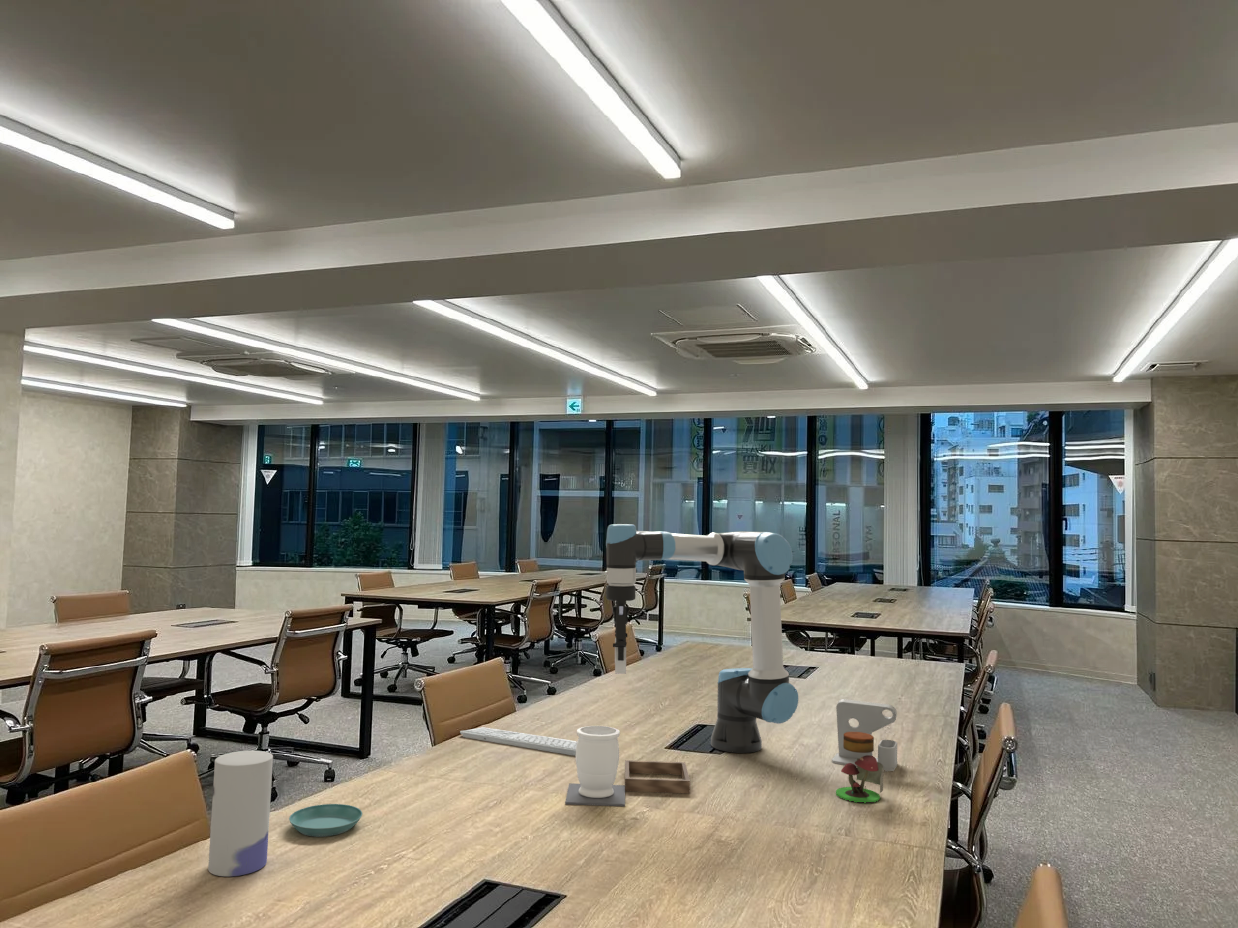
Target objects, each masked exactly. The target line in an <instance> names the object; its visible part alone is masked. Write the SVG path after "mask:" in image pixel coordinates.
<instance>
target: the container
mask: <svg viewBox="0 0 1238 928" xmlns="http://www.w3.org/2000/svg"><path fill="white" fill-rule="evenodd" d="M273 760H274V755H273V754H272V753H271V752H267V751H262V750H241V751H240V750H239V751H234V752H230V753H225V754H222V755H219V756H218V757H216V758H215V760H214V769H213V771H214V773H213V785H212V791H213V792H212V804H211V820H210V835H209V849H208V851H209V852H208V866H207V869H208V872H209V873H211V874H212V875H214V876H219V877H239V876H245V875H249V874H251V873H254V872H257V871H259V870H261V869H262V868H264V867H265V866H266V865H267V863H268V862H267V861H268V850H269V849H268V847H269V845H268V843H269V830H270V829H269V827H270V814H271V813H270V810H271V799H272V798H271V796H272V795H271V794H272V778H273V762H274V761H273Z"/></svg>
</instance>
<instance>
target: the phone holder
mask: <svg viewBox="0 0 1238 928" xmlns="http://www.w3.org/2000/svg"><path fill="white" fill-rule="evenodd" d="M835 708H836V709H835V710H836V726H837V745H838V746H837V747H838V752H837V753H835V754H834V756H833V757H832V759H831V763H833V764H835V765H844V766H845V765H846V764H848V763H853V764H854V765H855V766H856V767H857V765H856V764H855V761H857V758H861V757H863V756H866V755H871V756H873V754H874V753H873V752H870V753H857V752H851V751H848V750H846V749H844V748H843V739H844V733H846V732H862V733H867V734H870V735H872V736H873V734H872V733H874V732H876V731H878V730H881V729H884V728H885V727H887V726H889V725H891V724H893V723H895V722H896V720H897V717H898V716H897V715H898V714H897V708H895V706H894V705H891V704H887V703H881V702H880V703H879V702H872V701H871V702H870V701H863V700H862V701H861V700H855V699H848V698H847V699H846V698H842V699H839V700H838V701H837V703H836V707H835ZM886 710H887V711H890V712H891V714H892V715H891V716H886V715H884V714H883V712H884V711H886ZM851 719H852V720H853V719H854V720H856V721H857V722H858V725H857V726H852V725H851V724H850V722H849V721H850V720H851ZM873 757H874V756H873ZM875 758H876V760H877V762H879V763H881V764H882V765H883V770H885V771H884V772H888V771H894V770H896V769H895V768H897V766H898V742H897V741H895V740H892V739H881V740H880V741H879V743H878V745H877V757H875ZM894 772H895V771H894Z"/></svg>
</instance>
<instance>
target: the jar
mask: <svg viewBox="0 0 1238 928" xmlns="http://www.w3.org/2000/svg"><path fill="white" fill-rule="evenodd" d="M620 732H621V731H620V730H619V729H618V728H615V727H612V726H607V725H605V726H604V725H587V726H582V727H579V728H577V729H576V735H577V736H578V738H577V746H576V756H575V765H576V774H577V779H578V782H579V784H580V785H581V787H580V789H579V793H580V794H581V795H583V796H585V797H590V798H605V797H609V796H611V795H613V793H614V790H613V788H612V785H615V784H614V783H615V781H616V777H617V773H618V768H619V761H620V747H619V745H620V744H619V740H618V738H619V737H620V734H621V733H620Z"/></svg>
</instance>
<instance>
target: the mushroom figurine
mask: <svg viewBox="0 0 1238 928" xmlns="http://www.w3.org/2000/svg"><path fill="white" fill-rule="evenodd" d="M874 739H875V737H874V736H873V734H872V735H870V734H867V733H862V732H846V733H844V739H843V748H844V749H846V750H848V751H851V752H857V753H870V752H872V753H874V749H875V746H874V745H875V741H874ZM876 758H877V757H875V756H871V755H866V756H863V757H861V758H857V761H855V764H856V765H857V767H856V766H855V765H854V764H853V763H848V764H846V765H844V766H843V767H841V768H842V769H841V770H840V772H841V773H843V774H845V775H848V783H849V785H850V786H846V787H845V786H844V787H839V788H837V789H836V790H835V795H836V796H837V797H838V796H839V797H838V798H839V799H842V798H843V799H842V800H844V799H845V801H847V800H849V801H848V802H851V801H854V802H853V803H857V802H864V803H863V804H867V803H866V802H874V803H877V802H879V801H880V800H881V795H880V794H881V793H882V792H883V791H884V772H885V771H884V770H883V765H882V764H881V763H879V762H877V760H876ZM854 776H856V780H854ZM857 780H858V781H861V782H860V783H859V782H857ZM865 782H868V783H872V784H875V785H878V786H879V793H878V792H876V791H874V790H872V789H869V788H868V789H867V787H866V786H865ZM879 799H880V800H879ZM878 800H879V801H878ZM876 801H877V802H876Z"/></svg>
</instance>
